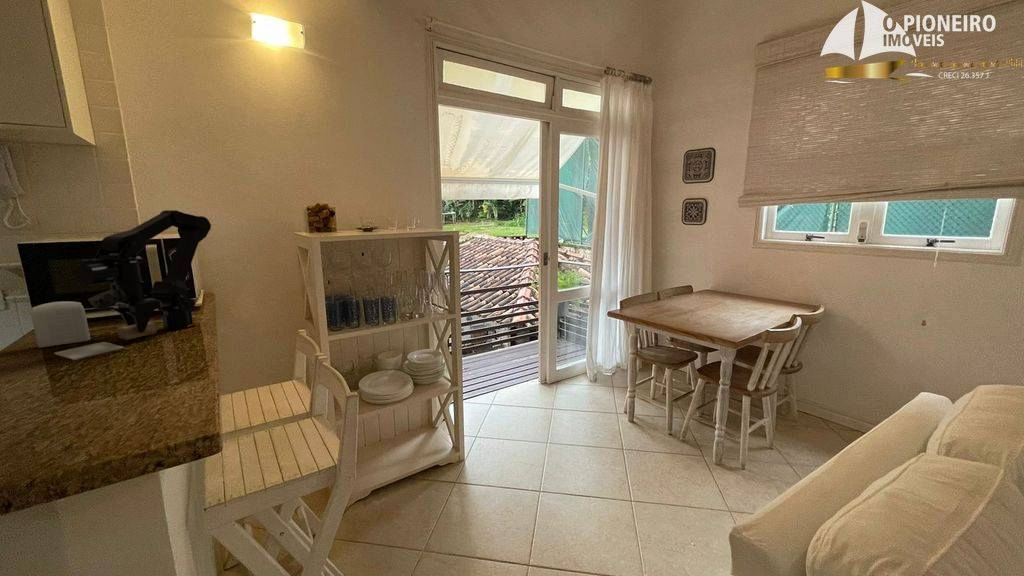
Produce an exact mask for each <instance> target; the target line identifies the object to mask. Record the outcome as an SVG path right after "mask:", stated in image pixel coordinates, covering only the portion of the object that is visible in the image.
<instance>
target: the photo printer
mask: <svg viewBox="0 0 1024 576" xmlns="http://www.w3.org/2000/svg"><path fill="white" fill-rule="evenodd" d="M86 314H87V313H86V310H85V308H84V306H83V305H82V302H79V301H67V300H66V301H64V300H63V301H52V302H48V303H42V304H39V305H36V306H33V307H31V312H30V317H31V322H32V326H33V329H34V335H35V339H36V343H37V347H38V348H39V349H40V348H48V347H54V346H55V345H56V346H62V344H63V345H68V344H75V343H82V342H88V340H89V341H90V340H91V335H90V330H89V325H88V320H87V315H86Z"/></svg>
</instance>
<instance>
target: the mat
mask: <svg viewBox="0 0 1024 576" xmlns="http://www.w3.org/2000/svg"><path fill="white" fill-rule="evenodd" d="M122 349H124V346H122V345H118V344H115V343H110V342H107V341H101V342H96V343H92V344H86V345H82V346H78V347H74V348H70V349H69V348H68V349H65V350H61V351H56V352H54V353H53V354H54V355H56V356H59V357H63V358H65V359H69V360H72V361H76V360H81V359H84V358H88V357H89V358H90V357H92V356H97V355H102V354H106V353H109V352H113V351H117V350H122Z"/></svg>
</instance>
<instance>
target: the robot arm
mask: <svg viewBox="0 0 1024 576" xmlns="http://www.w3.org/2000/svg"><path fill="white" fill-rule="evenodd" d="M172 227H174V228H177V233H178V236H179V241H178V244H177V246H176V248H175V252H174V255H173V256H172V257H173V258H172V259H171V262H170V265H169V268H168V271H167V273H166V276H165V278H163V279H162V280H161V281H159V280H156V281H154V283H153V287H152V289H151V291H149V294H151V296H150V297H149V296H148V295H147V294H145V293H144V288H143V286H146V282H145V281H142V277H141V272H140V267H139V263H145V262H146V261H147V260H146V259H145V258H144V257H141V256H140V255H139V254H140V252H141V251H142V250H143V249H144V248H145V247H146V244H147V243H148V242H149V241H150V240H152V239H153V238H155V237H157V236H158V235H160V234H161V233H163V232H165V231H167V230H168V229H170V228H172ZM211 227H212V224H211V222H210V220H209V219H208V218H207V217H206V216H203V215H202V216H201V215H200V216H199V215H194V214H189V213H185V212H182V211H180V210H176V209H175V210H173V209H171V210H169V209H168V210H167V209H166V210H163V211H161V212H160V213H159V214H157V215H155V216H153V217H152V218H149V219H148V220H146V221H144V222H143V223H141V224H139V225H137V226H135V227H134V228H132V229H130V230H125V231H120V232H116V233H113V234H110V235H107V236H105V237H104V238H103V239H102V240H101V245H100V247H99V248H98V250H97V252H96V254H95V255H94V257H93V259H80V260H79V265H77V267H76V268H75V272H74V276H75V279H76V280H77V282H78V283H80V284H81V285H83V286H85V287H88V286H89V287H90V286H94V285H101V284H107V283H110V285H109V287H110V288H109V289H108V290H106V291H102V292H100V293H98V294H96V295H94V296H91V297H90V298H89V297H88V299H87V301H88V302H89V303H90V305H91V306H92V308H94V309H95V310H99V311H103V310H107V309H109V308H110V310H111V311H113V312H116V313H118V314H120V316H121V318H122V319H123V321H124V322H125V324H126V326H128V325H133V324H136V326H137V328H138V330H139V332H144V331H145V329H146V327H147V324H148V322H150V321H151V320H150V319H151V318H152V315H153V314H154V312H155V311H156V310H158V311H162V312H163V315H162V316H161V317H162V321H163V322H162V323H163V327H162V329H165V330H168V329H169V330H168V331H173V330H175V331H178V329H179V330H181V329H180V328H184V327H187V326H188V325H190V324H194V321H193V315H192V309H195V308H196V301H195V300H194V299H192V298H191V297H190V296H188V291H189V290H188V286H187V284H186V279H187V276H188V274H189V271H190V268H191V266H192V262H193V259H194V256H195V253H196V251H197V248H198V245H199V243H201V241H202V240H204V239H205V238H207V236H208V234H209V232H210V231H211ZM138 253H139V254H138ZM111 282H112V283H111ZM184 329H185V328H184Z"/></svg>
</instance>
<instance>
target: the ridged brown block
mask: <svg viewBox="0 0 1024 576" xmlns="http://www.w3.org/2000/svg"><path fill="white" fill-rule="evenodd" d="M116 329H117V334H118V338H120V339H123V340H127V341H128V340H133V339H137V338H140V337H143V336H144V337H145V336H149V335H153V334H157V333H158V332H157V328H156V323H155V322H150V321H149V322H148V324H147V327H146V329H145V331H144V332H139V330H138V328H137V326H136V324H133V325H128V326H127V325H124V326H119V327H117V328H116Z"/></svg>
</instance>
